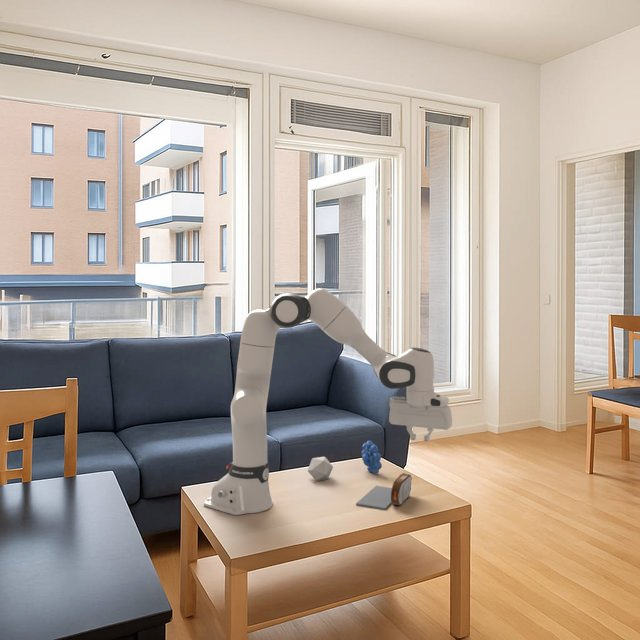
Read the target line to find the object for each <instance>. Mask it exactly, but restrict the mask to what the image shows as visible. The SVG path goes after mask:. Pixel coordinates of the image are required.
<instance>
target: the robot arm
mask: <svg viewBox="0 0 640 640" xmlns="http://www.w3.org/2000/svg"><path fill="white" fill-rule="evenodd" d="M307 320H308V321H311V322H312V323H314V324H315V325H316V326H317V327H318V328H319V329H321V331H323V333H324V334H325V335H327V336H328V337H330V338H331V339H332V340H334V341H335V342H337V343H339V344H340V345H341V344H342V345H346V346H349V347H351V348H352V349H353V350H355V351H356V352H357V353H358V354H359V355H360V356H361V357H363V359H365V360H366V361H367V362H368V363H369V364H370V366H372V368H373V371H374V374H375V375H376V377H377V379H378V380H379V381H380V383H381V384H382V385H383V386H384V387H386V388H388V389H391V390H396V389H402V388H405V389H406V396H398V395H394V396H392V397H391V398H390V399H389V405H388V406H389V409H390V410H389V413H388V415H389V416H388V422H389V423H390V424H391V425H392V426H393V425H396V426H405V427H406V430H407V432H408V434H409V440H412V441H416V438H417V433H414V432H413V428H424V429H425V428H426V429H427V434H425V435H424V436H423V442H428V443H429V442H431V441H430V439H431V435H432V433H433V432H434V430H443V431H444V430H447V431H448V430H449V429H450V428H451V427H452V425H453V417H452V415H453V414H452V410H451V408H450V406H449V405H448V404H449V401H450V399H449V398H448V396H445V395H443V394H439V393H437V392H436V391H435V386H434V378H435V363H434V362H435V360H434V356H433V353H432V352H431V351H429V350H428V349H424V348H422V347H421V348H420V347H409V348H408V350H407V349H406V351H404V352H403V353H401V354H398V355H395V354H393V353H389V352H387V351H386V350H384V349H383V348H381V346H379V345H378V344H377V343H376V342H375V341H374V340H373V339H372V338H371V337H369V335H368V334H367V333H366V331H365V330H364V328H363V325H362V323H361V321H360V320H359V318H358V317H357V316H356V314H355V313H354V312H353V310H352V309H351V308H350V307H349V306H348V305H346V304H345V303H344V301H342V300H340V299H339V297H337V296H336V295H334V294H333V293H332V292H330V291H328V290H327V289H326V288H324V287H323V288H318V287H317V288H315V289H314V290H311V291H310V292H309V293H308V294H307V295H306V296H301V295H298V294H297V293H295V292H289V291H287V292H285V291H284V292H281V293H280V294H278V295H277V296H275V298H274V299H273V301H272V303H271V305H270V306H269V308H267V309H254V310H252V311H250V312H249V313H247V315H246V317H245V320H244V323H243V326H242V330H241V331H242V332H241V337H240V340H239V341H240V342H239V350H238V356H237V357H238V358H237V364H236V376H235V377H236V378H235V384H234V385H235V387H234V393H233V398H232V399H231V402H230V422H231V433H232V434H231V435H232V436H231V437H232V461H231V462H229V464H227V465H226V466H225V467H226V468H225V470H228V469H229V470H228V473H226V474H225V475H224V476H223V477H221V478H220V479H219V480H217V481H216V482H215V483H214V485H213V486H212V489H211V494H210V496H209V497H207V498H206V499H205V500H204V503H203V506H205V507H207V508H210V509H213V510H217V511H220V512H223V513H227V514H230V515H233V516H240V515H244V514H254V513H260V512H264V511H267V510H269V509H270V508H272V507H273V505H274V503H273V500H272V497H271V491H270V487H269V486H270V483H269V476H270V471H269V470H270V469H269V468H270V467H269V466H270V465H269V461H268V435H267V434H268V432H267V431H268V430H267V405H268V398H269V390H270V382H271V376H272V369H273V361H274V354H275V345H276V339H277V334H278V331H279V330H280V329H281V328H283V329H284V328H285V329H291V328H294V327H296V326H299V325H301V324H302V323H304V322H305V321H307Z"/></svg>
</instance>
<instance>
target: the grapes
mask: <svg viewBox="0 0 640 640" xmlns="http://www.w3.org/2000/svg"><path fill="white" fill-rule="evenodd" d="M378 451H379V447H378V446H377V445H376V444H374V443H373V441H372V440H367V442H363V445H362V450H361V456H362V458H361V459H362V461H363V464H364V466H366V467H367V471H368V472H369V473H371V474H372V473H373V474H375V475H377V474H379V471H380V470H381V469H382V465H383V464H382V463H381V460H382V455H381V453H380V452H378Z"/></svg>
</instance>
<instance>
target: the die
mask: <svg viewBox="0 0 640 640" xmlns="http://www.w3.org/2000/svg"><path fill="white" fill-rule="evenodd" d="M333 468H334V465H333V464H331V462H330V461H329V460H328V458H327V457H326V456H320V457H319V456H317V457H313V458H311V460H310V464H309V466H308V469H307V472H308V473H309V475H310V476H311V477H312V478H313V479H314V481H317V482H318V481H324V480H329V479H330V476H331V473H332V470H333Z"/></svg>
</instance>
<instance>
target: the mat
mask: <svg viewBox="0 0 640 640" xmlns="http://www.w3.org/2000/svg"><path fill="white" fill-rule="evenodd" d="M391 491H392V487H388V486H379V485H375V486H373V488H371V490H370V491H368V492H367V493H366V494H365V495H364V496H363V497H362V498H360V499H358V501H357V502H356V503H355V506H358V507H363V508H364V507H366V508H370V509H371V508H372V509H378V510H383V511H384V510H387V509H388V508H389V507H390V505H393V504H392V503H391Z"/></svg>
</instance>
